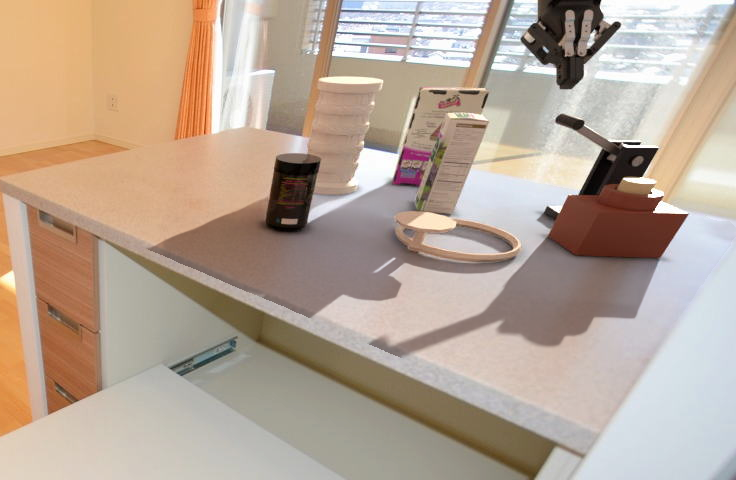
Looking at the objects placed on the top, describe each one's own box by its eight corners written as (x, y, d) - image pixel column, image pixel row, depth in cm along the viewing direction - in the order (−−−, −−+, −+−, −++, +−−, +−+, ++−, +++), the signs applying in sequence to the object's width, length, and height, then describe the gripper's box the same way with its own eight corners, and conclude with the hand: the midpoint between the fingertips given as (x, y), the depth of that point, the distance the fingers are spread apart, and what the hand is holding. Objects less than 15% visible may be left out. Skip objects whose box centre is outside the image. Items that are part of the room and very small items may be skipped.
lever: (567, 130, 79) (582, 113, 77) (549, 124, 83) (564, 108, 81) (634, 172, 81) (650, 157, 79) (614, 164, 85) (629, 149, 83)
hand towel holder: (563, 223, 76) (453, 243, 70) (547, 253, 78) (440, 275, 73) (460, 191, 88) (360, 206, 83) (449, 218, 91) (352, 235, 85)
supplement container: (300, 219, 92) (314, 152, 85) (311, 233, 86) (327, 163, 80) (260, 219, 92) (271, 153, 86) (268, 233, 87) (281, 163, 80)
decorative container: (369, 190, 105) (400, 81, 93) (322, 197, 101) (348, 85, 90) (328, 176, 113) (352, 74, 102) (283, 182, 110) (302, 78, 99)
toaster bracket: (575, 232, 85) (619, 150, 77) (543, 212, 92) (580, 136, 85) (638, 234, 84) (689, 151, 76) (601, 214, 91) (644, 137, 84)
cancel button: (637, 190, 76) (645, 176, 75) (654, 197, 74) (662, 183, 72) (609, 189, 77) (617, 176, 76) (625, 196, 74) (633, 183, 73)
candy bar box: (452, 183, 107) (488, 87, 97) (454, 190, 104) (491, 91, 93) (390, 178, 111) (419, 85, 101) (390, 185, 107) (420, 88, 97)
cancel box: (625, 238, 82) (658, 183, 77) (660, 258, 76) (698, 199, 71) (547, 236, 84) (574, 181, 79) (575, 255, 77) (607, 197, 73)
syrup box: (413, 202, 98) (443, 111, 89) (449, 205, 97) (484, 113, 88) (416, 211, 94) (448, 117, 85) (454, 214, 92) (491, 119, 83)
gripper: (597, 2, 85) (598, 103, 83) (506, 4, 87) (506, 103, 85) (638, -44, 78) (641, 66, 76) (539, -41, 80) (539, 66, 78)
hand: (569, 85), depth 81 cm, fingers closed
